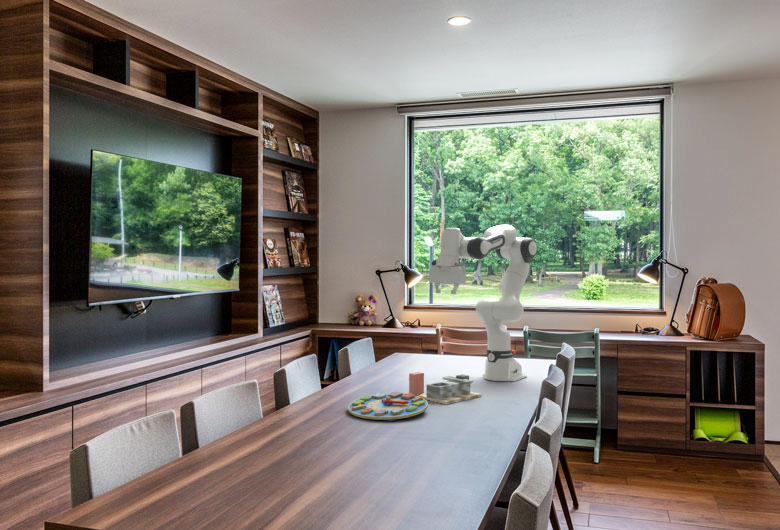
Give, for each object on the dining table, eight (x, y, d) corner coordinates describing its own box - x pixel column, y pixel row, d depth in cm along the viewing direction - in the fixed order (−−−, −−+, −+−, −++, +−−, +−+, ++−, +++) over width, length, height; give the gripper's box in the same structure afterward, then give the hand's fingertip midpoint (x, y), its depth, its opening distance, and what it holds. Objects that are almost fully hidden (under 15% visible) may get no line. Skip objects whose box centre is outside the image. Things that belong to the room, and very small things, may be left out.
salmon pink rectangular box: (418, 392, 276) (418, 371, 276) (423, 393, 273) (424, 373, 273) (409, 394, 272) (409, 373, 272) (414, 395, 270) (414, 374, 270)
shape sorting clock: (331, 412, 241) (331, 397, 241) (385, 399, 263) (386, 385, 263) (390, 427, 220) (390, 410, 220) (444, 412, 242) (444, 396, 242)
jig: (453, 390, 280) (453, 372, 280) (481, 396, 268) (481, 377, 268) (418, 397, 265) (418, 378, 265) (446, 404, 253) (446, 384, 253)
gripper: (470, 264, 277) (467, 295, 276) (437, 263, 292) (434, 293, 291) (461, 262, 273) (458, 294, 272) (427, 261, 288) (424, 292, 287)
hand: (445, 293), depth 282 cm, fingers open, 8 cm apart
